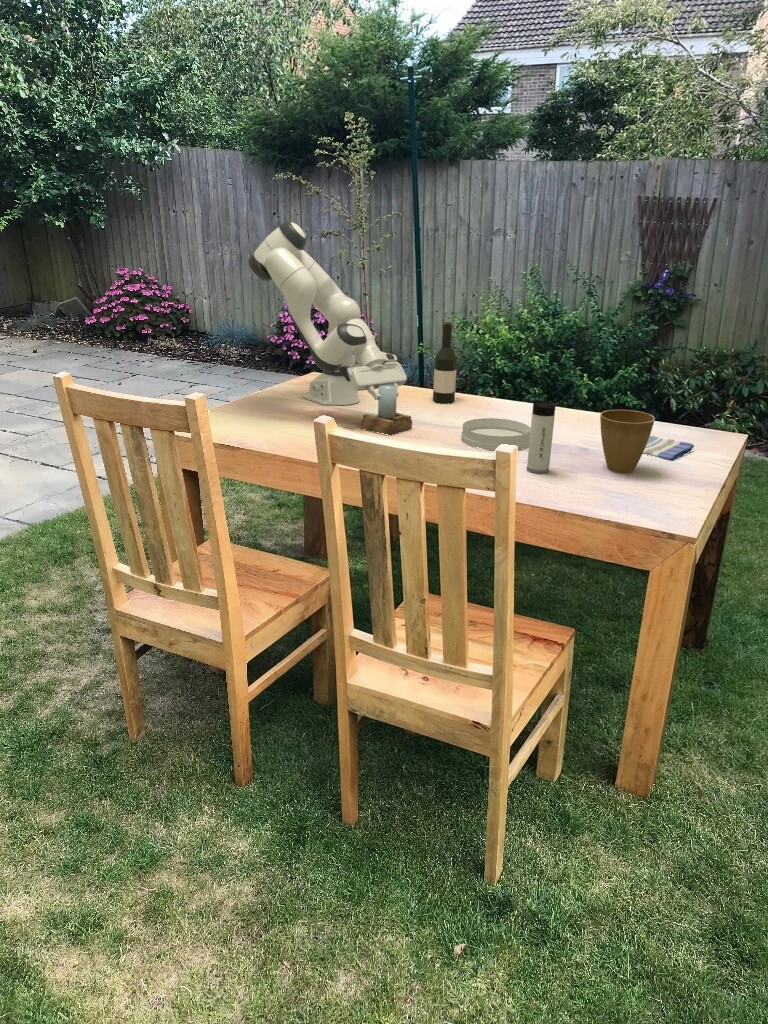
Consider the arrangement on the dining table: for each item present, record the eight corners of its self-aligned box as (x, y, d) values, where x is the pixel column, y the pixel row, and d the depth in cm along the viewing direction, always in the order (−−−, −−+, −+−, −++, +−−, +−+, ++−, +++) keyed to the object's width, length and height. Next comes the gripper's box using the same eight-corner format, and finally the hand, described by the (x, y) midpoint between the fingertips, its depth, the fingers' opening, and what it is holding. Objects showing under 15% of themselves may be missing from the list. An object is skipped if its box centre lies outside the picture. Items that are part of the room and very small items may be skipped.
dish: (533, 436, 259) (534, 421, 258) (527, 455, 239) (528, 439, 238) (466, 430, 264) (467, 415, 263) (455, 448, 245) (456, 432, 243)
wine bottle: (454, 399, 304) (459, 321, 293) (454, 404, 297) (459, 324, 286) (433, 398, 305) (437, 320, 294) (432, 403, 297) (436, 323, 286)
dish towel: (627, 436, 263) (628, 428, 262) (695, 451, 248) (697, 443, 247) (601, 446, 251) (602, 437, 250) (671, 463, 236) (672, 454, 235)
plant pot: (606, 458, 237) (613, 406, 232) (654, 469, 229) (663, 415, 223) (584, 469, 227) (591, 415, 221) (634, 481, 218) (642, 425, 212)
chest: (361, 429, 261) (361, 414, 259) (384, 422, 270) (384, 408, 268) (388, 436, 254) (389, 421, 252) (411, 429, 263) (412, 414, 261)
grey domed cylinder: (374, 415, 260) (374, 386, 256) (385, 412, 264) (386, 383, 261) (388, 419, 256) (389, 389, 253) (399, 415, 261) (400, 386, 257)
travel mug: (532, 465, 229) (539, 398, 222) (552, 470, 225) (560, 402, 218) (521, 470, 224) (528, 401, 217) (542, 475, 221) (549, 405, 213)
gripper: (348, 360, 254) (364, 395, 250) (399, 354, 265) (416, 389, 261) (341, 371, 259) (357, 406, 255) (391, 365, 270) (407, 399, 266)
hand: (387, 397), depth 258 cm, fingers closed on grey domed cylinder, 6 cm apart
